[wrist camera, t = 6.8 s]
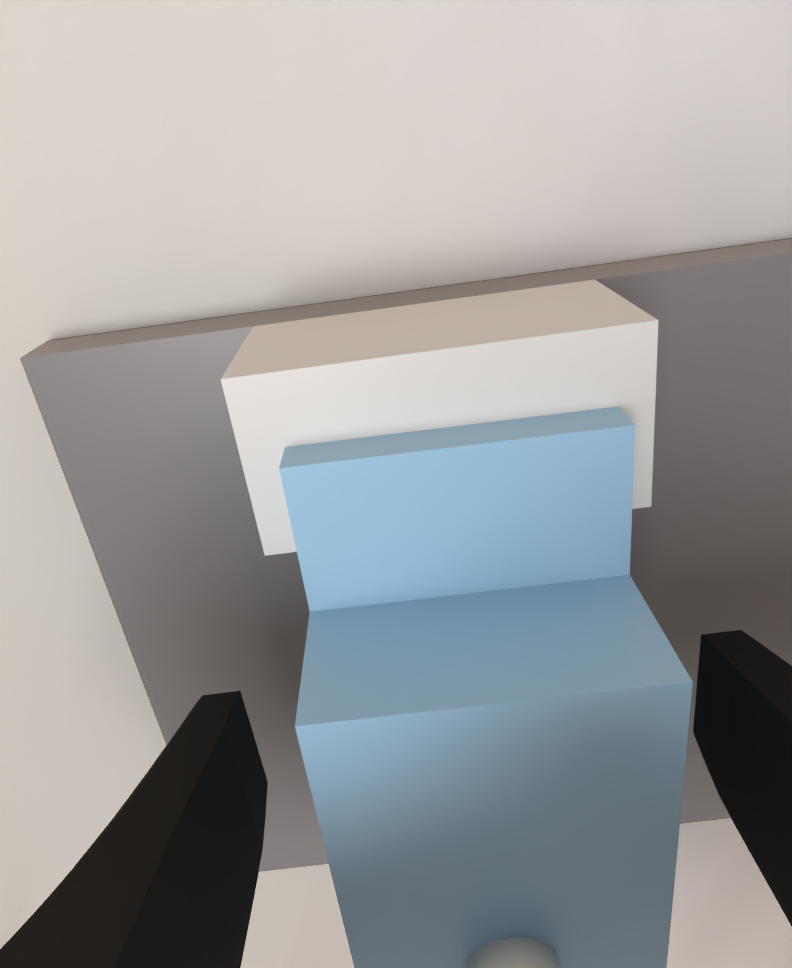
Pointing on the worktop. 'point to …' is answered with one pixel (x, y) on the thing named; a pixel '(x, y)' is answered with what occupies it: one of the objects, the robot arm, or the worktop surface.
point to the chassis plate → (261, 600)
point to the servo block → (488, 696)
